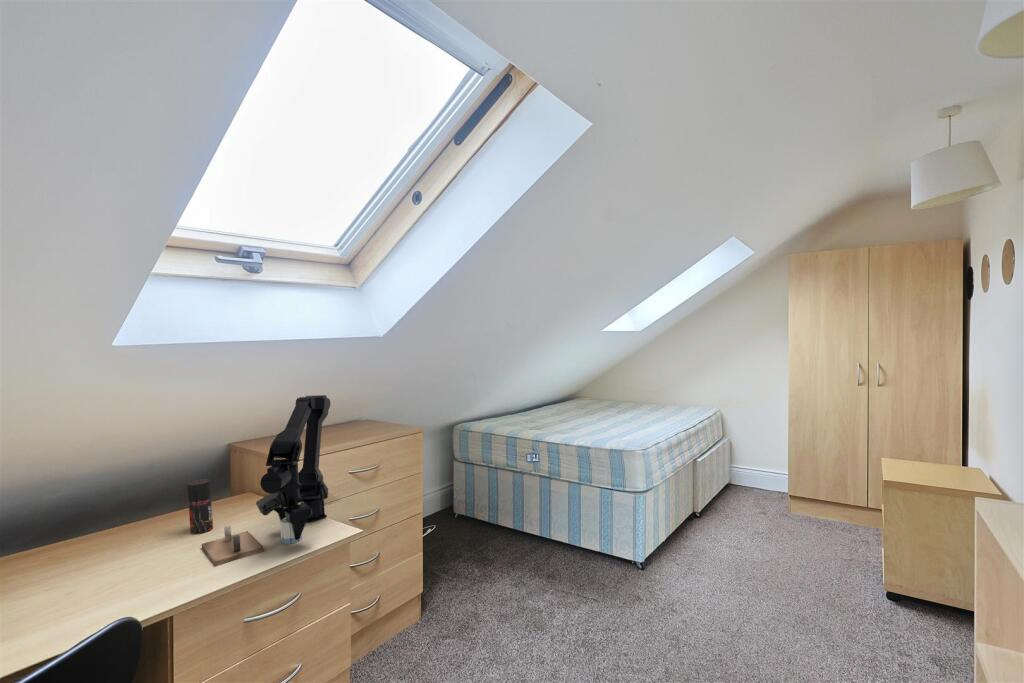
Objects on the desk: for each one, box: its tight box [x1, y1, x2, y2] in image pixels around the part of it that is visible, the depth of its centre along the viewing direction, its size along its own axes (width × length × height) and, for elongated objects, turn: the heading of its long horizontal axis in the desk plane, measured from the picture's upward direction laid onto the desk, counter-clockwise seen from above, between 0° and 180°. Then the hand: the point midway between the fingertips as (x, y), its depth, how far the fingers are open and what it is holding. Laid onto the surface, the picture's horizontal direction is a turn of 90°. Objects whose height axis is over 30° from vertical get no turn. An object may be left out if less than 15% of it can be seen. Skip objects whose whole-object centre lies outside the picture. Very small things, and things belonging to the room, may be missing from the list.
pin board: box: [201, 525, 265, 567], centre depth 145 cm, size 12×15×5 cm
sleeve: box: [279, 517, 303, 545], centre depth 150 cm, size 5×5×6 cm
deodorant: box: [186, 478, 214, 535], centre depth 159 cm, size 6×6×15 cm
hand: (291, 534), depth 150 cm, fingers open, 9 cm apart
